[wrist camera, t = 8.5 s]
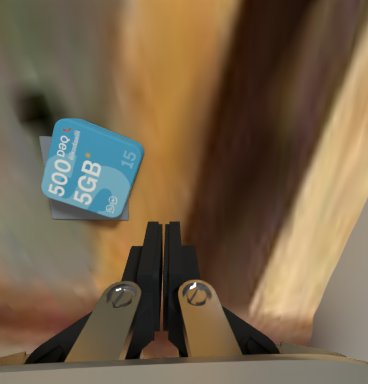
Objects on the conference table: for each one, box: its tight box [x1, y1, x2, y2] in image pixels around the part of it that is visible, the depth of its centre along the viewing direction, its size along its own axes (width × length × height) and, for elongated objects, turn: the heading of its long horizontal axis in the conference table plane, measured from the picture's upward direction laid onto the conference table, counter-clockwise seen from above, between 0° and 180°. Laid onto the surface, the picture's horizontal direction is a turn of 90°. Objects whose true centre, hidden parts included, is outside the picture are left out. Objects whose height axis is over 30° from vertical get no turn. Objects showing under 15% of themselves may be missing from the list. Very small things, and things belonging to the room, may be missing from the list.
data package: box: [41, 118, 144, 218], centre depth 33 cm, size 12×4×12 cm
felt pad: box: [39, 136, 129, 220], centre depth 36 cm, size 13×14×1 cm
